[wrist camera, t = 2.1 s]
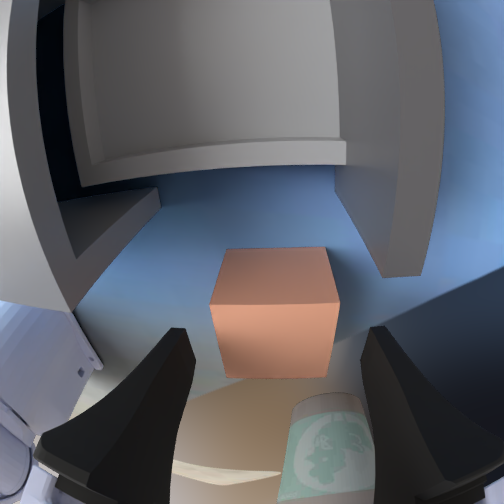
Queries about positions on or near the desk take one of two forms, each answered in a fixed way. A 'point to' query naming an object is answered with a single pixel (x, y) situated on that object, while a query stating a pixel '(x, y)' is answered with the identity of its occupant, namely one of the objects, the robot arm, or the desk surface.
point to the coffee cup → (328, 453)
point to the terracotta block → (275, 312)
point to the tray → (268, 100)
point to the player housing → (49, 189)
